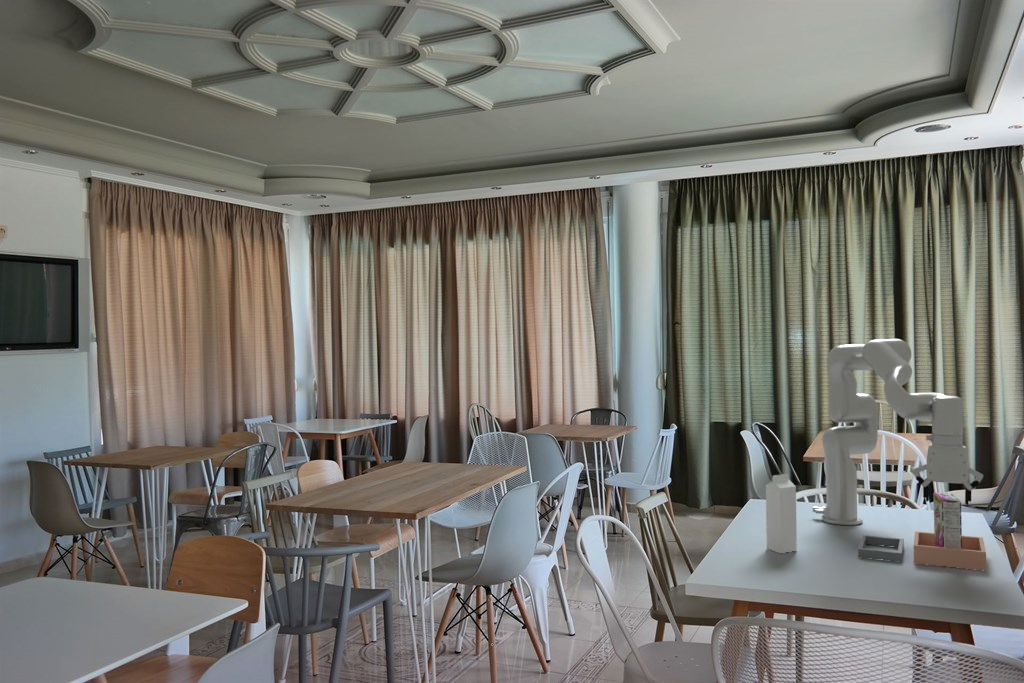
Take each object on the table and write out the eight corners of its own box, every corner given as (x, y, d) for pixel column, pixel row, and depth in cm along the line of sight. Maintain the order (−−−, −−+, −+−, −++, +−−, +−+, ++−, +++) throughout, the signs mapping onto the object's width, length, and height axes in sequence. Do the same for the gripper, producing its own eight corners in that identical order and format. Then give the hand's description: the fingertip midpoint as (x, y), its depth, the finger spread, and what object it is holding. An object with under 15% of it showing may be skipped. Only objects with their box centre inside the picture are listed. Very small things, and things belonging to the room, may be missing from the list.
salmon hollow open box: (913, 563, 219) (913, 545, 219) (915, 548, 234) (915, 531, 234) (986, 571, 211) (986, 552, 211) (982, 555, 226) (982, 537, 226)
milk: (796, 551, 233) (796, 475, 233) (780, 554, 231) (780, 477, 231) (782, 546, 239) (781, 472, 239) (765, 548, 236) (765, 473, 236)
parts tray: (858, 557, 226) (857, 548, 226) (862, 543, 241) (862, 535, 241) (901, 562, 221) (901, 553, 221) (903, 547, 236) (903, 538, 236)
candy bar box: (933, 549, 229) (932, 492, 229) (952, 550, 228) (952, 492, 228) (942, 560, 218) (941, 500, 218) (963, 561, 217) (962, 500, 217)
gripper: (912, 440, 223) (911, 501, 224) (984, 444, 215) (983, 508, 216) (912, 436, 230) (912, 496, 231) (982, 440, 222) (982, 502, 222)
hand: (946, 502), depth 223 cm, fingers open, 9 cm apart
